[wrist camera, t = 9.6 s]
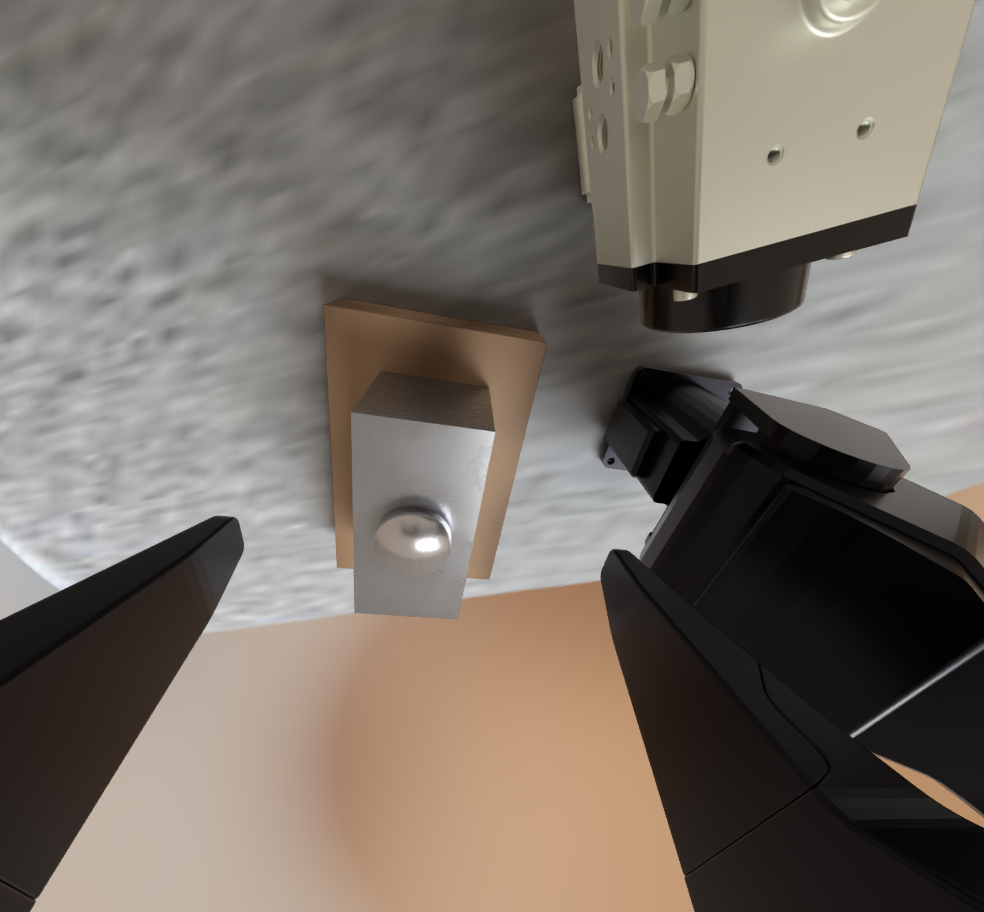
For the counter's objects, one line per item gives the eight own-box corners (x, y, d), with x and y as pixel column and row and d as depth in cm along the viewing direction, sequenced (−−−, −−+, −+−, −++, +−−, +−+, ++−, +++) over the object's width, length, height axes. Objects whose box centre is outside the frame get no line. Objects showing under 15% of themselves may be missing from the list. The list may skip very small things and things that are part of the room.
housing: (459, 550, 23) (457, 633, 18) (376, 542, 22) (350, 627, 17) (489, 387, 18) (496, 441, 13) (381, 370, 17) (344, 421, 12)
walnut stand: (538, 332, 19) (547, 343, 17) (487, 552, 27) (489, 579, 25) (341, 297, 18) (323, 304, 16) (348, 540, 25) (337, 567, 23)
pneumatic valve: (671, -102, 12) (1832, -2108, 2) (670, 274, 18) (944, 311, 8) (512, -45, 13) (707, -1402, 2) (561, 304, 18) (679, 378, 8)
